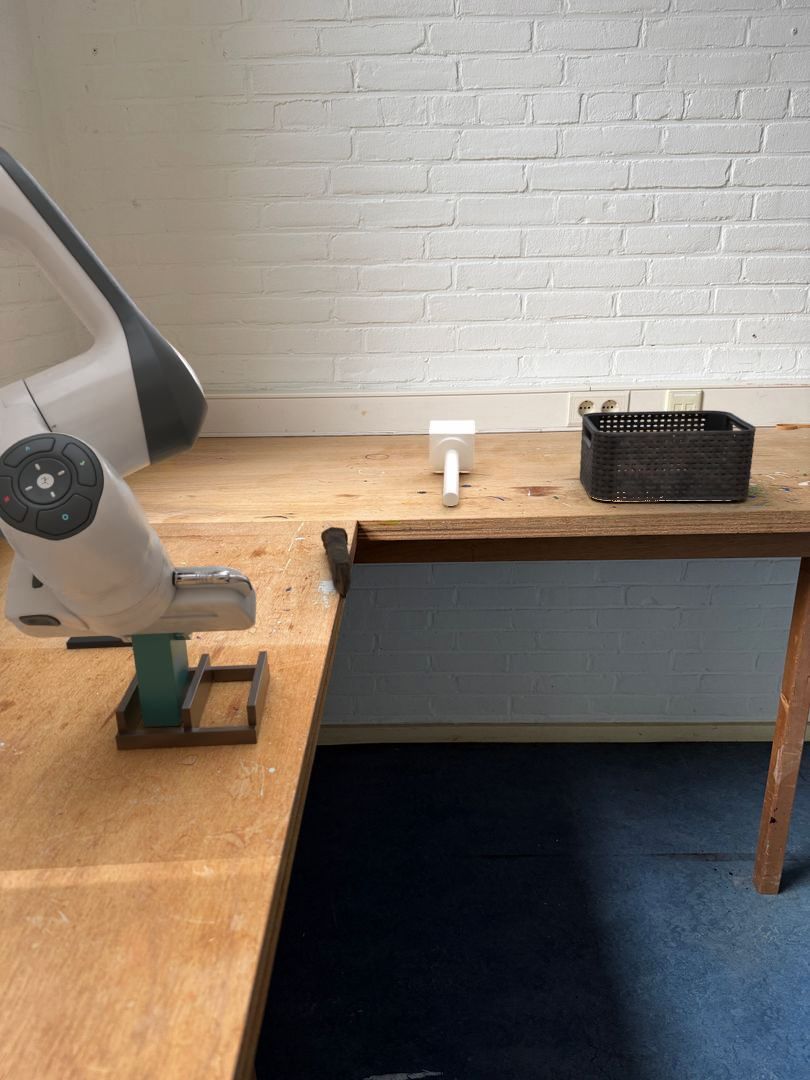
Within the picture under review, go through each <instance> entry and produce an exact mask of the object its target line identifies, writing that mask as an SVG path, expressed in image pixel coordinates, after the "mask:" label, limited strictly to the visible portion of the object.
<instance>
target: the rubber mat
mask: <svg viewBox="0 0 810 1080" xmlns="http://www.w3.org/2000/svg"><path fill="white" fill-rule="evenodd" d="M65 645H66V648H67V649H68V650H69V649H91V648H92V649H93V648H117V647H133V646H132V642H124V641H123V640H122V639H121V638H117V637H113V636H109V635H108V636H81V637H68V640H67V641H66V644H65Z"/></svg>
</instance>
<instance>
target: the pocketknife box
mask: <svg viewBox="0 0 810 1080" xmlns="http://www.w3.org/2000/svg"><path fill="white" fill-rule="evenodd" d="M131 639H132V646H131V647H132V652H133V653H132V654H133V659H134V661H133V662H134V667H135V668H134V669H135V673H136V675H137V682H138V689H139V696H140V704H141V711H142V715H141V718H142V724H143V728H154V727H155V728H156V727H174V726H175V727H176V726H178V727H179V726H181V724H182V723H183V720H182V712H181V708H182V706H183V703H184V700H185V698H186V695H187V692H188V690H189V687H190V684H191V681H190V673H189V667H190V665H189V656H188V648H187V647H188V646H187V640H176V639H175V638H174V636H173V633H160V634H134V635H131Z"/></svg>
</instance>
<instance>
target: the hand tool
mask: <svg viewBox="0 0 810 1080" xmlns="http://www.w3.org/2000/svg"><path fill="white" fill-rule="evenodd" d="M320 540H321V542H322V546H323V548H324V550H325V554H326V556H327V561H328V565H329V569H330V570H329V571H330V575H331V581H332V585H333V587H334V589H335V590H337V592H338V593H339V594H341V595H342V596H346V595H347V594H348V593H349V591H350V588H351V582H352V575H351V574H352V572H351V571H352V569H351V567H352V565H351V564H352V562H351V561H352V559H351V555H350V553H349V547H348V545H349V543H348V542H349V537H348V533H347V531H346V528H343V527H337V526H336V527H334V526H331V527H329V528H326V529H324V530H323V531H322V532H321V534H320Z"/></svg>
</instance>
